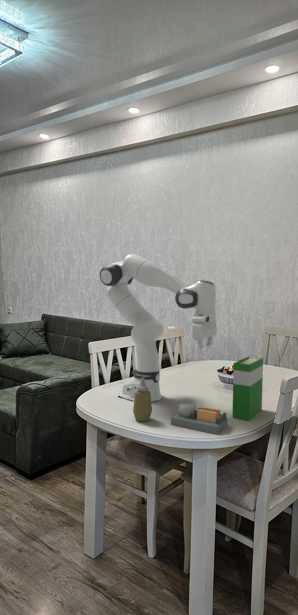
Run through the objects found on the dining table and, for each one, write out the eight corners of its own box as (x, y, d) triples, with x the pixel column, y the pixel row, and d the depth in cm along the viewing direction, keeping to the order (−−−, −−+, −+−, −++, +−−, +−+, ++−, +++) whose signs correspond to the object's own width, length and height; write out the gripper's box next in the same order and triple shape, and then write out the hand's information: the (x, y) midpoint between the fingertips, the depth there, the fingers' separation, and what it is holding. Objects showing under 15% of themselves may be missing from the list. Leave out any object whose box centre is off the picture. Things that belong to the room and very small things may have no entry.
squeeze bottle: (151, 416, 175) (152, 375, 174) (152, 422, 167) (152, 380, 166) (133, 416, 175) (133, 375, 174) (132, 422, 167) (133, 380, 166)
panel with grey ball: (170, 424, 166) (171, 407, 165) (183, 416, 176) (183, 400, 175) (216, 434, 155) (217, 416, 155) (227, 424, 166) (227, 408, 165)
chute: (196, 419, 163) (197, 409, 163) (201, 415, 168) (201, 406, 167) (215, 423, 159) (215, 413, 159) (220, 419, 164) (220, 409, 163)
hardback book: (246, 407, 189) (247, 356, 187) (261, 409, 185) (263, 358, 183) (232, 417, 174) (233, 363, 173) (249, 421, 170) (250, 365, 169)
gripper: (207, 314, 190) (207, 343, 191) (189, 318, 173) (189, 350, 174) (220, 315, 187) (219, 345, 188) (203, 319, 169) (202, 351, 170)
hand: (204, 347), depth 181 cm, fingers open, 8 cm apart
